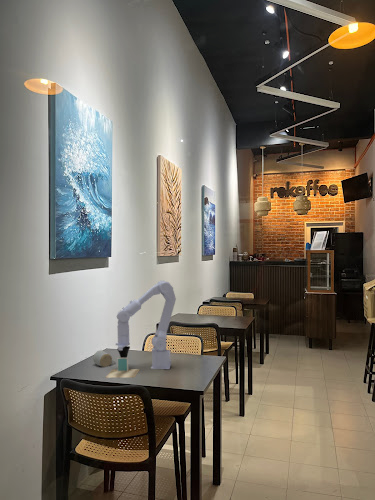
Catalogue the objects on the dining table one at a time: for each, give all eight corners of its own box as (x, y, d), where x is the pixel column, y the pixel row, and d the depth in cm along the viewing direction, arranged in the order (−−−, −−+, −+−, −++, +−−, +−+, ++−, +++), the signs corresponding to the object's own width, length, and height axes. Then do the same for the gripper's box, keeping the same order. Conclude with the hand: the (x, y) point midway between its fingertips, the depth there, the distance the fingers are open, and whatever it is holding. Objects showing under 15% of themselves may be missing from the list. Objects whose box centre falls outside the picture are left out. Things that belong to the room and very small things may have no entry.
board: (140, 370, 201) (140, 369, 201) (134, 378, 187) (134, 377, 187) (112, 370, 202) (112, 369, 202) (105, 378, 188) (105, 377, 188)
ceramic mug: (100, 369, 205) (100, 353, 205) (93, 366, 211) (93, 351, 212) (118, 365, 212) (118, 350, 212) (110, 362, 218) (110, 348, 218)
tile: (128, 370, 199) (128, 357, 199) (127, 371, 197) (127, 358, 197) (118, 370, 199) (118, 357, 200) (117, 371, 198) (117, 358, 198)
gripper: (119, 331, 209) (119, 358, 209) (111, 337, 194) (112, 365, 194) (132, 331, 208) (133, 358, 208) (126, 337, 194) (126, 365, 194)
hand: (124, 361), depth 201 cm, fingers closed
